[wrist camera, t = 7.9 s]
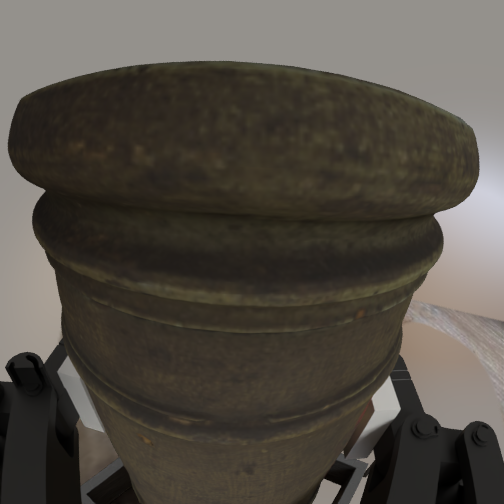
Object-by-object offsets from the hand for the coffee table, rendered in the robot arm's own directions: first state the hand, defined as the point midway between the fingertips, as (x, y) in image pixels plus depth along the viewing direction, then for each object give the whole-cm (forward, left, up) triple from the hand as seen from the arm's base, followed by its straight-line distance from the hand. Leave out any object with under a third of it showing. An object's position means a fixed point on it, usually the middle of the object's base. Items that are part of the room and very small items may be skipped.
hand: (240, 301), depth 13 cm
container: (+4, +3, -10) cm, 11 cm away
